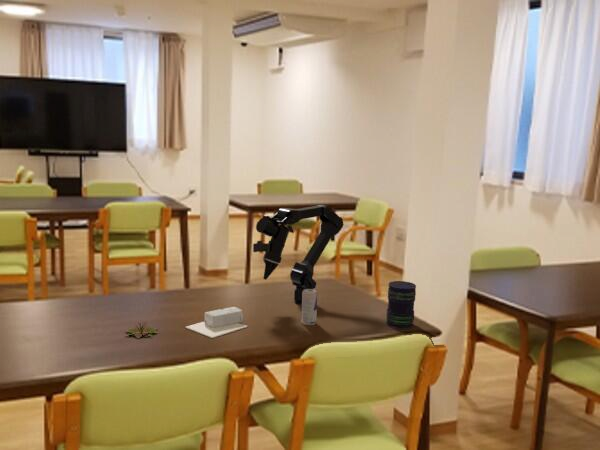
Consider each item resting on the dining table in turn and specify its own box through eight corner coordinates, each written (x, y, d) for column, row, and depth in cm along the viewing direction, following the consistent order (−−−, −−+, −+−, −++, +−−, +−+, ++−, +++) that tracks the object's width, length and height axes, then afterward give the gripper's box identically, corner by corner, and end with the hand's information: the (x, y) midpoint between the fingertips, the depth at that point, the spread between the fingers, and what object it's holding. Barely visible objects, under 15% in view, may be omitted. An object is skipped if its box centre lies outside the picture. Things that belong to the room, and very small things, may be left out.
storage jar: (396, 330, 211) (399, 289, 209) (380, 322, 220) (382, 282, 217) (419, 327, 216) (422, 286, 213) (402, 318, 224) (405, 280, 222)
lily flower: (129, 327, 206) (128, 314, 206) (164, 328, 206) (163, 316, 206) (118, 340, 195) (118, 326, 194) (155, 341, 194) (155, 327, 194)
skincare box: (243, 310, 213) (213, 315, 205) (242, 322, 213) (212, 328, 206) (233, 306, 217) (204, 311, 210) (233, 318, 218) (203, 323, 210)
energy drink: (318, 321, 217) (319, 289, 215) (313, 326, 212) (314, 293, 210) (304, 319, 219) (305, 288, 217) (299, 324, 214) (300, 291, 212)
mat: (220, 317, 218) (220, 316, 218) (247, 327, 209) (247, 326, 209) (185, 327, 207) (185, 326, 207) (212, 338, 198) (212, 337, 197)
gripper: (257, 234, 237) (244, 272, 235) (258, 231, 218) (244, 272, 217) (284, 244, 237) (271, 281, 236) (287, 241, 219) (273, 282, 217)
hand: (264, 279), depth 226 cm, fingers closed
